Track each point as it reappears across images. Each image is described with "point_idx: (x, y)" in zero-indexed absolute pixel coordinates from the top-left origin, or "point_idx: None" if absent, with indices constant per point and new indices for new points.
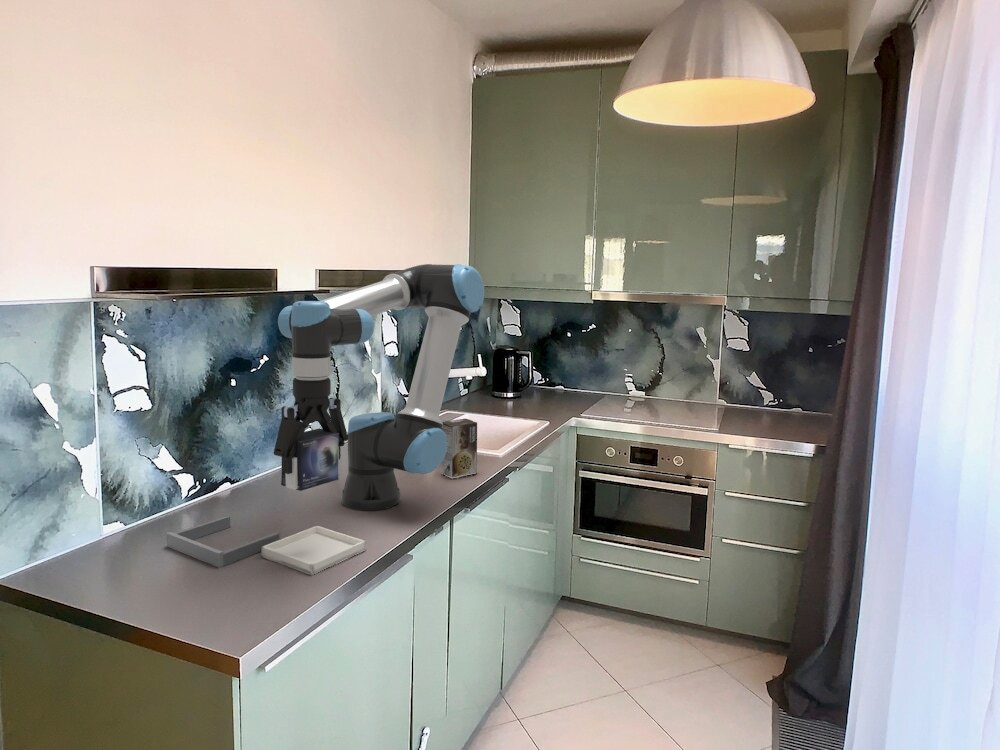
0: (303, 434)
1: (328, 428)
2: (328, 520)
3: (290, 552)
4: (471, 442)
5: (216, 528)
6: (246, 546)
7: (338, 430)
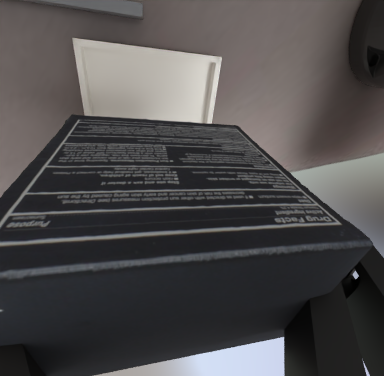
0: (151, 318)
1: (286, 360)
2: (288, 16)
3: (118, 90)
4: None
5: None
6: (43, 1)
7: (354, 299)
